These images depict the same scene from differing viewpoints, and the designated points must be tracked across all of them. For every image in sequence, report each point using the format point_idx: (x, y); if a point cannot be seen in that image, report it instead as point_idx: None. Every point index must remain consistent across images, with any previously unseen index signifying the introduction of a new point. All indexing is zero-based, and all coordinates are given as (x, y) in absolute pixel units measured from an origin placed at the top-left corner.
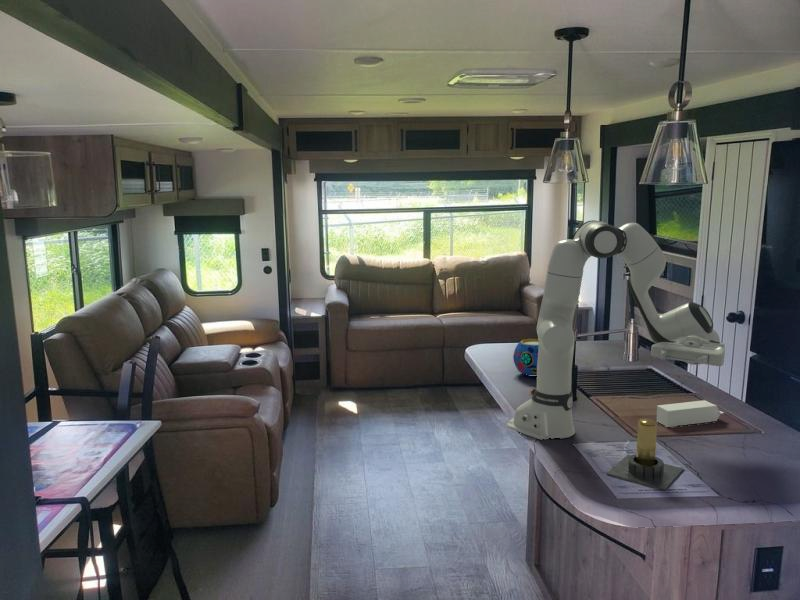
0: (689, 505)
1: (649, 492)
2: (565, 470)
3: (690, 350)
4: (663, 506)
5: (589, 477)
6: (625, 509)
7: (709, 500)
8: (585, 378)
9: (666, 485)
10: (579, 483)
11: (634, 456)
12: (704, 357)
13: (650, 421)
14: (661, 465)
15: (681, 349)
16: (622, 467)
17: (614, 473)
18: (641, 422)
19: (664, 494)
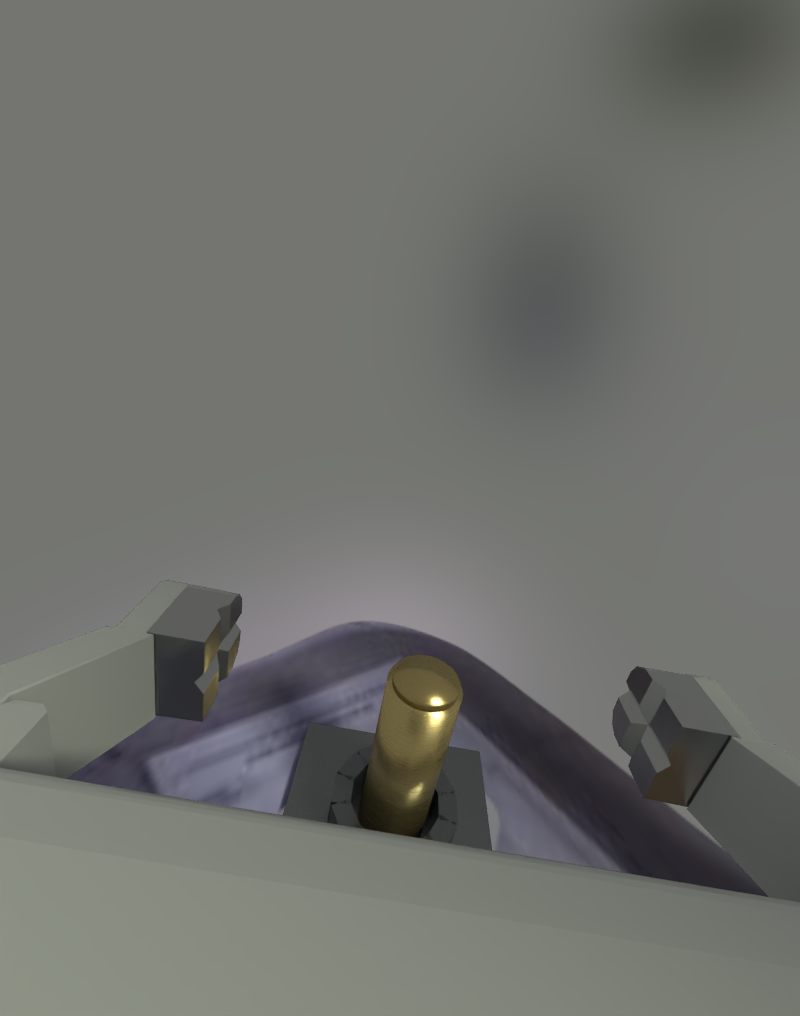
0: (244, 679)
1: (344, 704)
2: (571, 736)
3: (328, 844)
4: (303, 657)
5: (502, 723)
6: (372, 627)
7: (185, 719)
8: None
9: (306, 743)
10: (500, 687)
11: (442, 818)
12: (40, 655)
13: (416, 681)
14: (336, 780)
15: (588, 875)
16: (461, 813)
17: (460, 758)
18: (441, 661)
19: (307, 707)
